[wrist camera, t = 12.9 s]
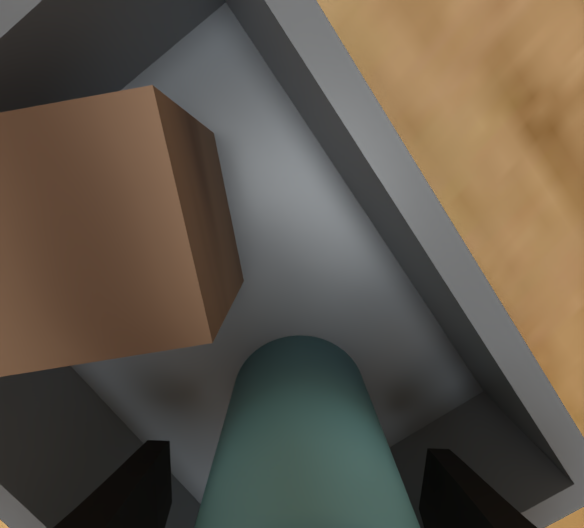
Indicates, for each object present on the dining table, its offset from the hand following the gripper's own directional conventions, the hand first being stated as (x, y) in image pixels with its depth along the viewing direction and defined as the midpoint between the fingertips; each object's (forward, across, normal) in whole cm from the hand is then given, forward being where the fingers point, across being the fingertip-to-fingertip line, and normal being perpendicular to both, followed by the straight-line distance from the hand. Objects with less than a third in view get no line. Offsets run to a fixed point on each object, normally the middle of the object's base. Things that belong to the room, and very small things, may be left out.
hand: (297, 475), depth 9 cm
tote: (+4, +2, -3) cm, 6 cm away
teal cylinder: (+4, 0, 0) cm, 4 cm away
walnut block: (+4, +5, -6) cm, 9 cm away
